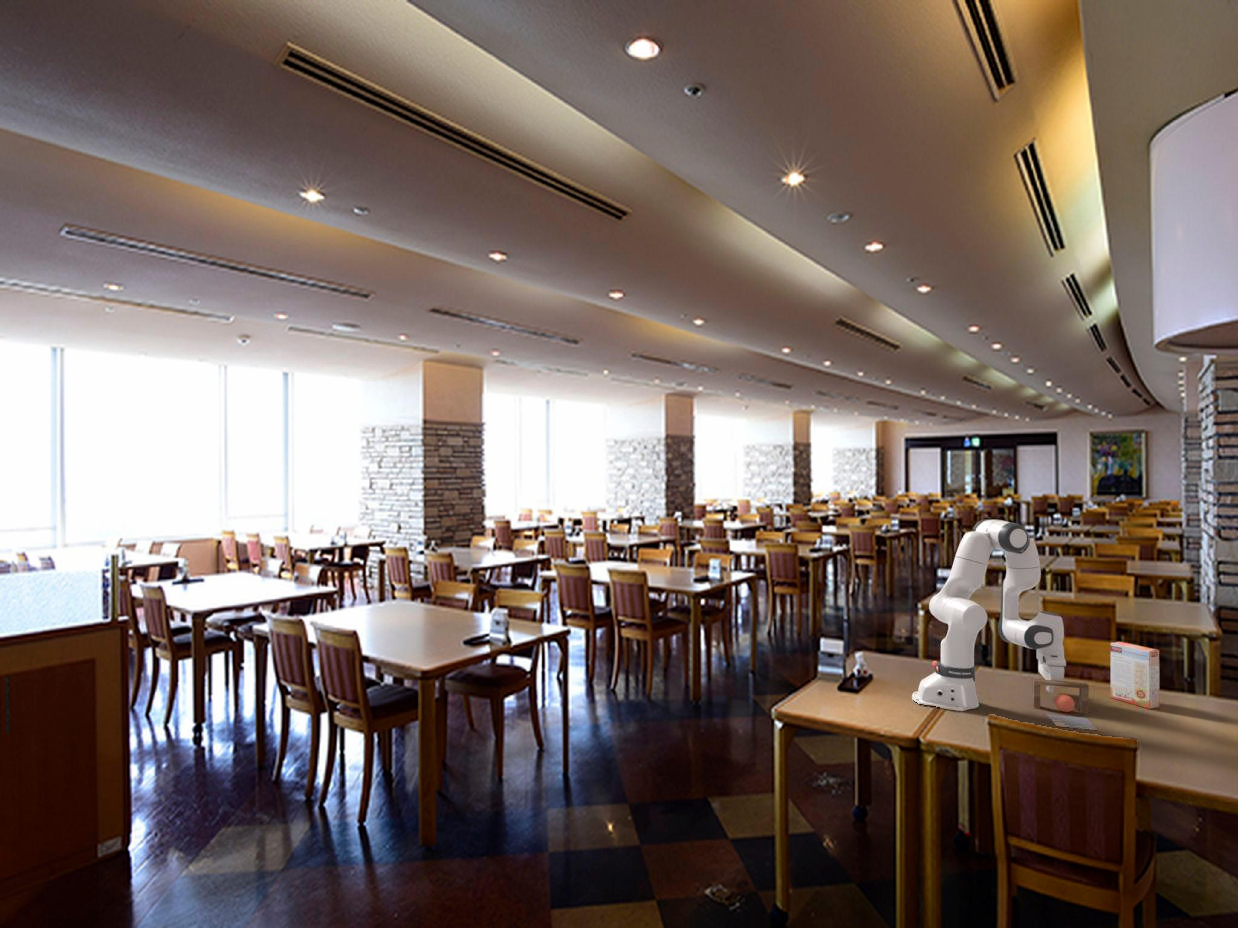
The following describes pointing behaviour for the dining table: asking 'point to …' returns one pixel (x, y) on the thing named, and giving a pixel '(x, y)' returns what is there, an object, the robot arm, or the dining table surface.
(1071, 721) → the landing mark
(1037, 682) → the grey rectangular frame
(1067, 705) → the ball
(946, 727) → the dining table surface
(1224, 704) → the dining table surface
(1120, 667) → the cracker box
